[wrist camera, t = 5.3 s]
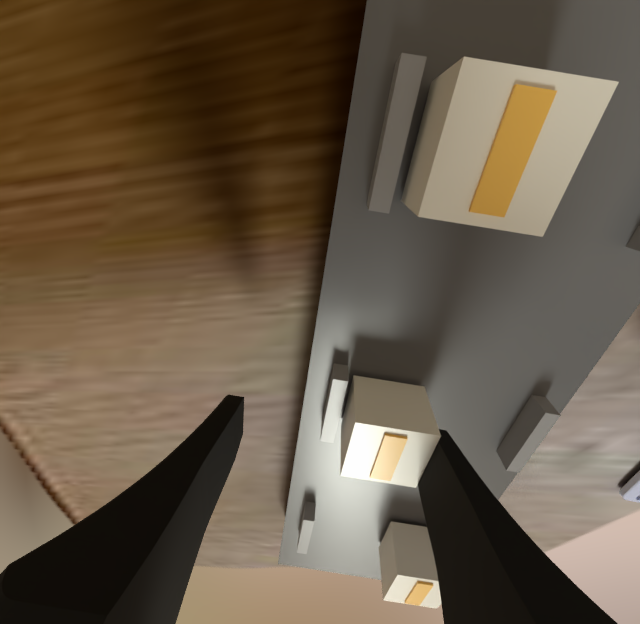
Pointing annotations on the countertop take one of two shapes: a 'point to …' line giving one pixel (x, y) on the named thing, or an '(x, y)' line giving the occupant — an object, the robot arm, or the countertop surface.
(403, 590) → the switch
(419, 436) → the switch mid
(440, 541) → the robot arm
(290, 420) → the countertop surface
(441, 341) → the power strip
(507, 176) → the switch
